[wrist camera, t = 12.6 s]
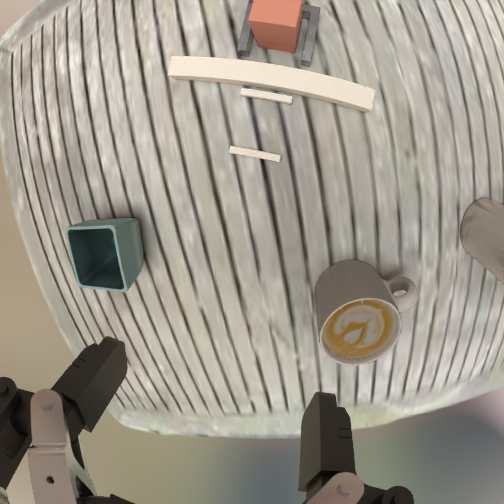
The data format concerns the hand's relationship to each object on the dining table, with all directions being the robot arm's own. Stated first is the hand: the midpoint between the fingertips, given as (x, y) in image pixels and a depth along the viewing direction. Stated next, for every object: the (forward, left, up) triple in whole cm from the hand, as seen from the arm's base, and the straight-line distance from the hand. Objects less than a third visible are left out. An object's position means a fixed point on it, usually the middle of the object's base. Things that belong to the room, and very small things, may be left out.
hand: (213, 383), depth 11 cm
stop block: (+3, -23, -28) cm, 36 cm away
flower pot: (+20, +8, -28) cm, 36 cm away
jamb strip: (+3, -12, -28) cm, 31 cm away
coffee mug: (-15, +8, -28) cm, 33 cm away
